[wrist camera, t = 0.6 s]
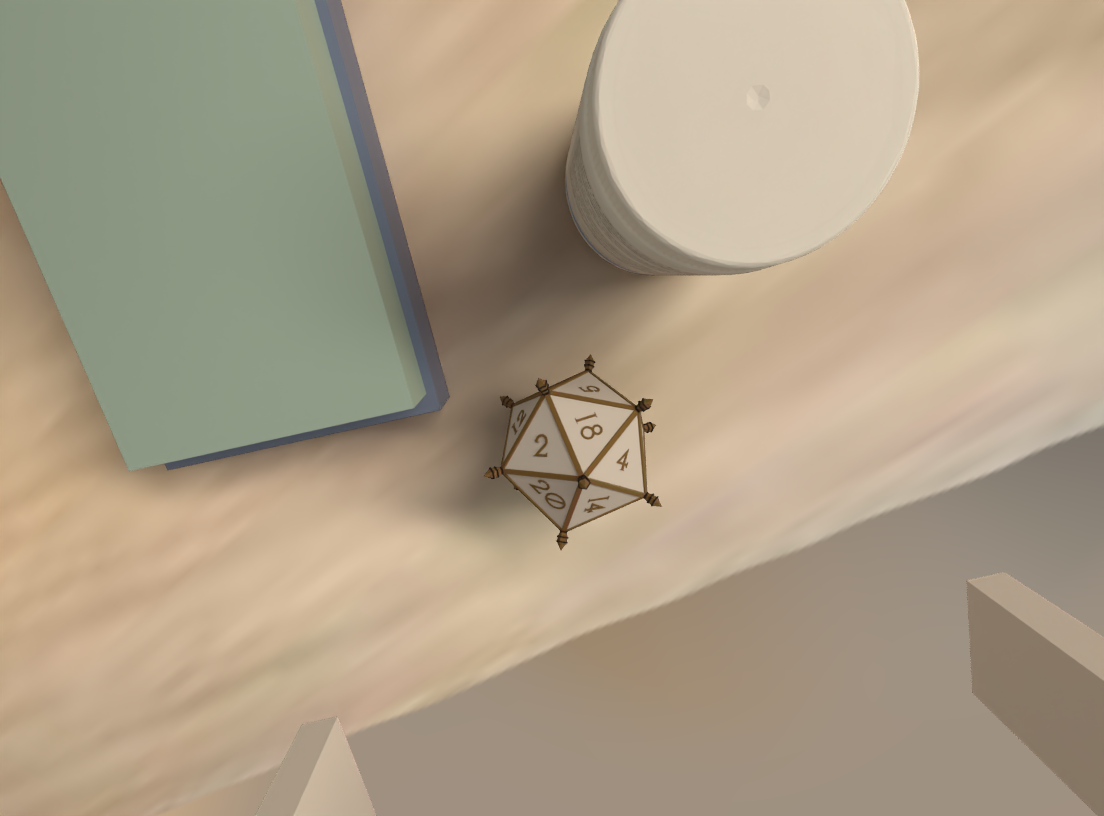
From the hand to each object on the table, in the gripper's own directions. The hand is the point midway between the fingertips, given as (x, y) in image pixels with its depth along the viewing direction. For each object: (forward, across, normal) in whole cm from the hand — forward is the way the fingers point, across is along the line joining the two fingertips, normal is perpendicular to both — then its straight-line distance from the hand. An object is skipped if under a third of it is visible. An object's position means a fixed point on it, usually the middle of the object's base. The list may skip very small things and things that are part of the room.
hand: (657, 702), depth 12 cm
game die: (+22, 0, 0) cm, 22 cm away
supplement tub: (+22, +7, +12) cm, 26 cm away
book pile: (+22, -14, +14) cm, 30 cm away
